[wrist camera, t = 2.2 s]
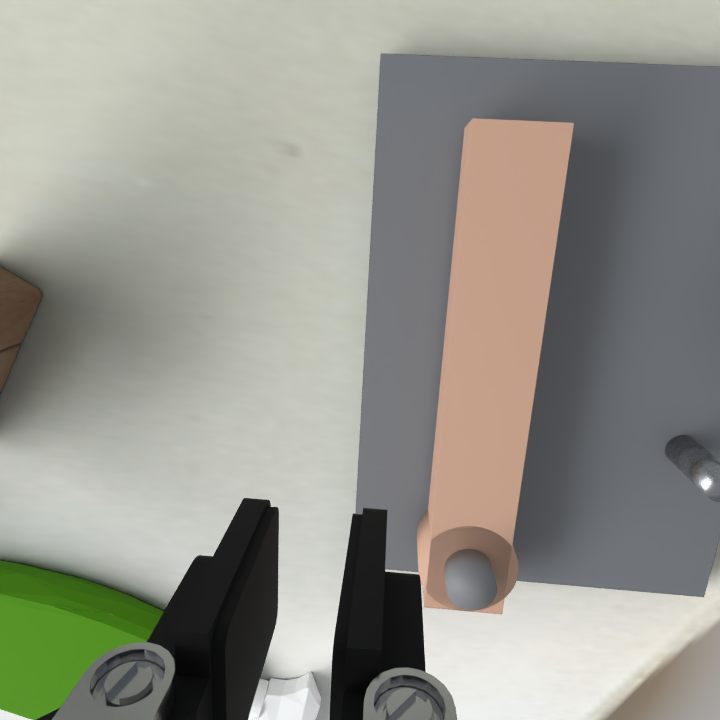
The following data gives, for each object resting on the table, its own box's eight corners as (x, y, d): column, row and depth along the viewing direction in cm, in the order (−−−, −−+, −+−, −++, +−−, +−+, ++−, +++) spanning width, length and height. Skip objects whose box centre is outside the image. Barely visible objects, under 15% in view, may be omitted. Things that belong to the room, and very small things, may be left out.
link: (501, 577, 31) (517, 637, 27) (413, 569, 32) (415, 627, 27) (565, 132, 25) (599, 118, 21) (453, 127, 25) (464, 112, 21)
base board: (382, 61, 26) (380, 53, 25) (817, 78, 25) (843, 71, 24) (354, 550, 34) (352, 566, 33) (690, 579, 33) (704, 597, 32)
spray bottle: (-21, 537, 36) (339, 643, 37) (-36, 665, 39) (297, 760, 40) (-56, 566, 33) (335, 680, 34) (-70, 701, 36) (289, 803, 37)
